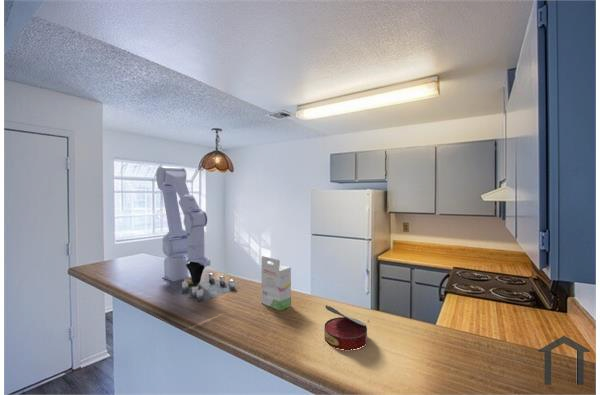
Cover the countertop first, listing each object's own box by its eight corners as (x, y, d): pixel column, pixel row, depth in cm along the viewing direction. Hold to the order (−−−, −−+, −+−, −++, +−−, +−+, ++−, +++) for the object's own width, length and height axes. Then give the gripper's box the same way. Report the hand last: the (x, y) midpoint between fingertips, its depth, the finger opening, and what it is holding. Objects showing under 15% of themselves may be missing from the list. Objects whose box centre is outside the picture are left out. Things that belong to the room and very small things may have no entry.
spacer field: (174, 292, 96) (174, 282, 96) (214, 280, 109) (214, 271, 109) (199, 303, 87) (199, 292, 87) (240, 288, 99) (240, 279, 99)
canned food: (326, 351, 70) (321, 308, 74) (367, 347, 69) (359, 304, 74) (326, 354, 59) (320, 304, 64) (374, 349, 59) (365, 299, 64)
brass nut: (181, 284, 104) (181, 279, 104) (194, 281, 108) (193, 275, 108) (188, 285, 101) (188, 279, 101) (201, 282, 105) (201, 276, 105)
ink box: (292, 306, 85) (292, 257, 84) (280, 311, 81) (279, 260, 81) (272, 298, 91) (272, 252, 90) (260, 303, 87) (260, 255, 87)
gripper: (174, 244, 103) (175, 281, 103) (197, 249, 94) (197, 290, 94) (192, 241, 108) (193, 276, 109) (215, 246, 99) (215, 284, 100)
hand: (196, 282), depth 102 cm, fingers closed
